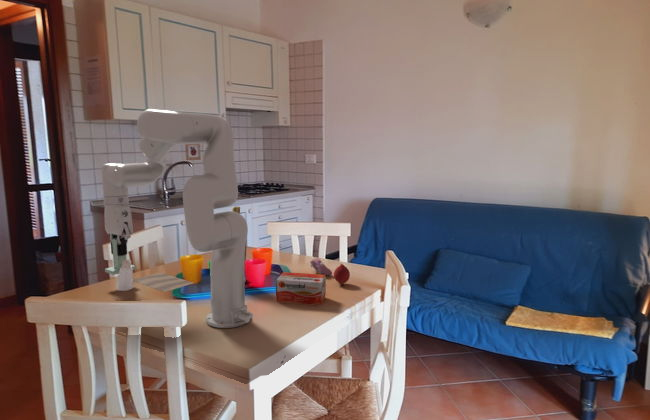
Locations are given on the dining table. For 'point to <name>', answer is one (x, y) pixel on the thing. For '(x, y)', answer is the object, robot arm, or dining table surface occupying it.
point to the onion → (341, 274)
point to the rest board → (162, 282)
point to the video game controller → (320, 267)
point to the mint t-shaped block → (116, 260)
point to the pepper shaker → (125, 276)
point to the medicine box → (301, 288)
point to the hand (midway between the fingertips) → (119, 253)
